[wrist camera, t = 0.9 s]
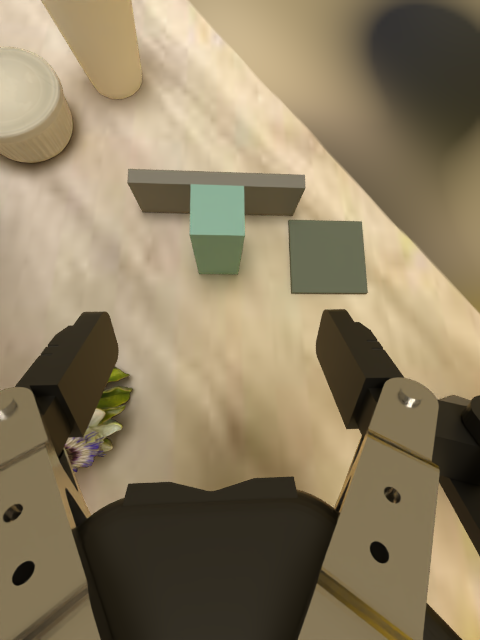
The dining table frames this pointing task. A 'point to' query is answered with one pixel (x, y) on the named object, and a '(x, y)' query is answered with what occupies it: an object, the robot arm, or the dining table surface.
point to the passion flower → (99, 425)
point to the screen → (174, 186)
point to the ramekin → (31, 108)
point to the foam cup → (101, 42)
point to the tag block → (217, 227)
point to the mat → (327, 257)
